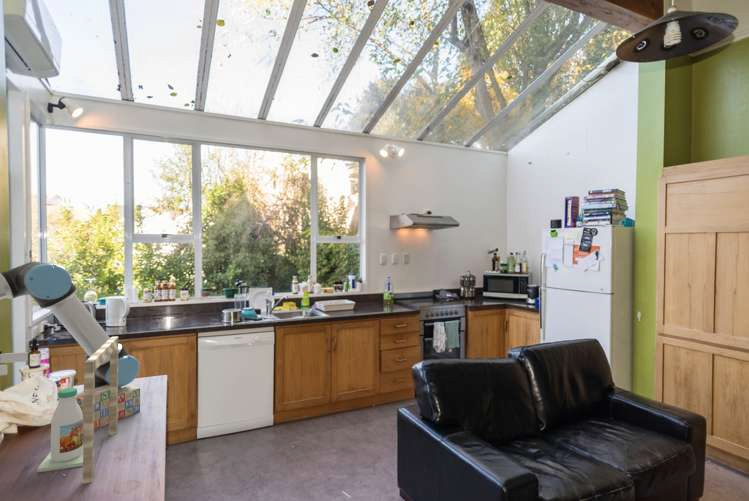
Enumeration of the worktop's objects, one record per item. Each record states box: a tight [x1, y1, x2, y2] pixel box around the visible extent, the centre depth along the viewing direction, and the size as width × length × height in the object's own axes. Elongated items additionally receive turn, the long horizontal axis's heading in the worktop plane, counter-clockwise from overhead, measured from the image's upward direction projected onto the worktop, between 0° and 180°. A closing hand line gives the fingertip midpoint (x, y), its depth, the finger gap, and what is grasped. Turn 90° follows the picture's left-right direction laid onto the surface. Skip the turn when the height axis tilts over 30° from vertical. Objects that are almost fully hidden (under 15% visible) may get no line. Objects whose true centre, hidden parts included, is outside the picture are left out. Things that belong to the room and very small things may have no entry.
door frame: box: [82, 336, 119, 485], centre depth 127 cm, size 32×2×33 cm, turn 21°
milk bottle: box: [50, 387, 83, 462], centre depth 124 cm, size 8×8×20 cm
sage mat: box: [36, 451, 83, 473], centre depth 124 cm, size 11×11×1 cm
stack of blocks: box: [76, 385, 141, 430], centre depth 151 cm, size 21×6×12 cm, turn 155°
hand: (17, 362), depth 122 cm, fingers open, 13 cm apart
